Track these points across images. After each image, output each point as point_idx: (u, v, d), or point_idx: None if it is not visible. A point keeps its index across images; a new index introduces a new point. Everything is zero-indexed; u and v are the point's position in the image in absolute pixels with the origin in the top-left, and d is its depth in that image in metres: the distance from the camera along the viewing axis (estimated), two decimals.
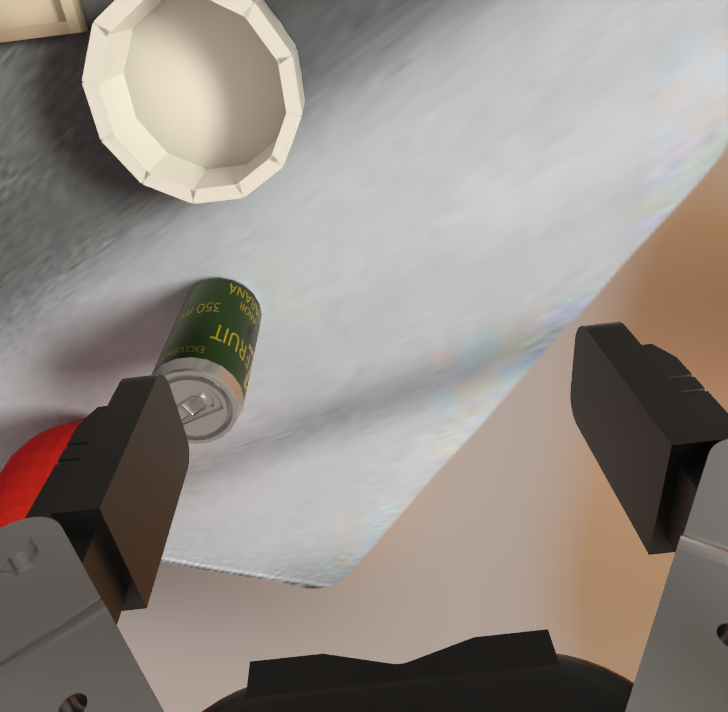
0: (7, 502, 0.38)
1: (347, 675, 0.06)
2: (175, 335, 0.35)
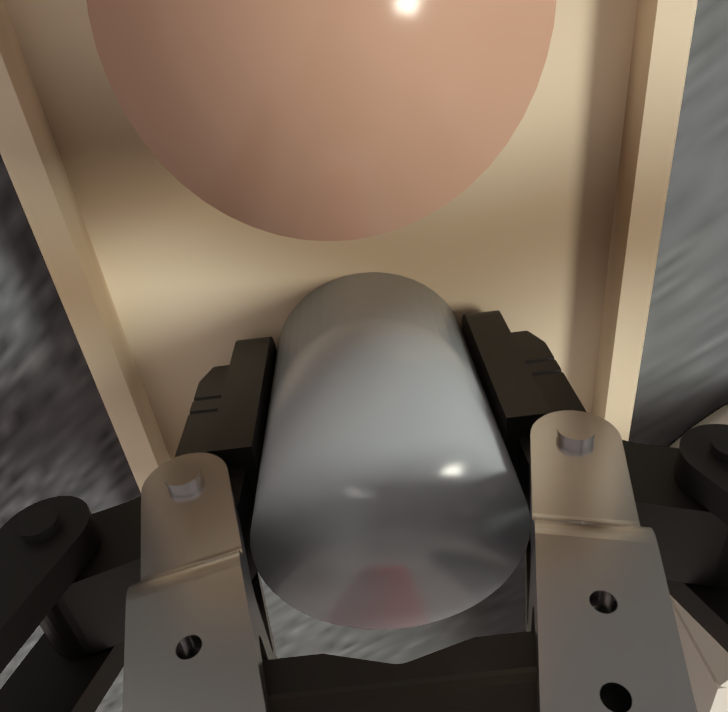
0: None
1: (347, 675, 0.06)
2: None
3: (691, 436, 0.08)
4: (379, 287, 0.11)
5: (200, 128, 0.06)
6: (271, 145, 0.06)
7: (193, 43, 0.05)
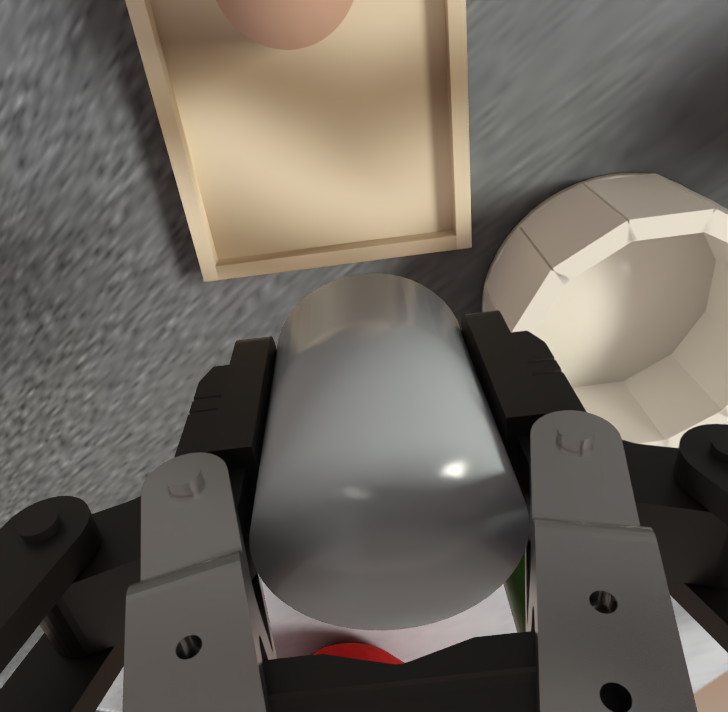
0: None
1: (347, 675, 0.06)
2: None
3: (691, 436, 0.08)
4: (378, 288, 0.11)
5: (240, 3, 0.16)
6: (265, 10, 0.16)
7: None
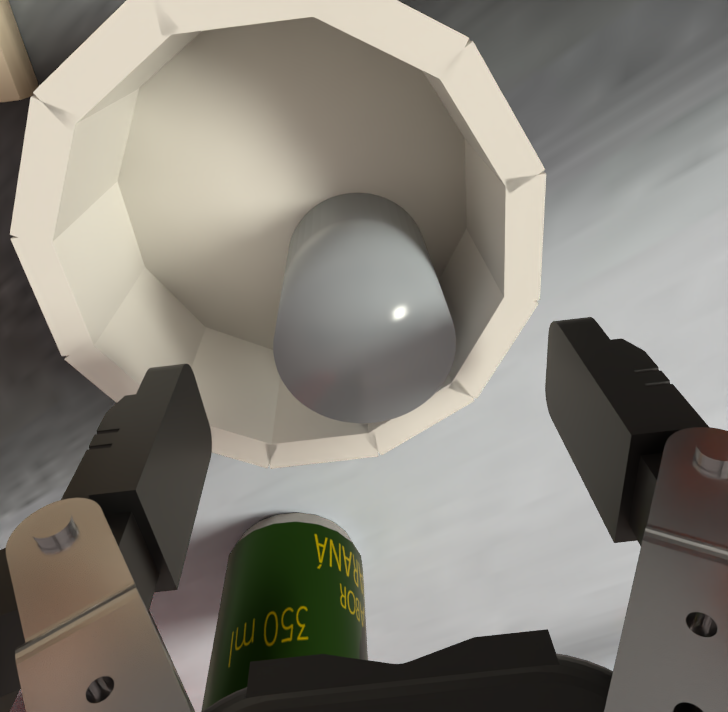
0: None
1: (347, 675, 0.06)
2: None
3: None
4: (361, 200, 0.16)
5: None
6: None
7: None
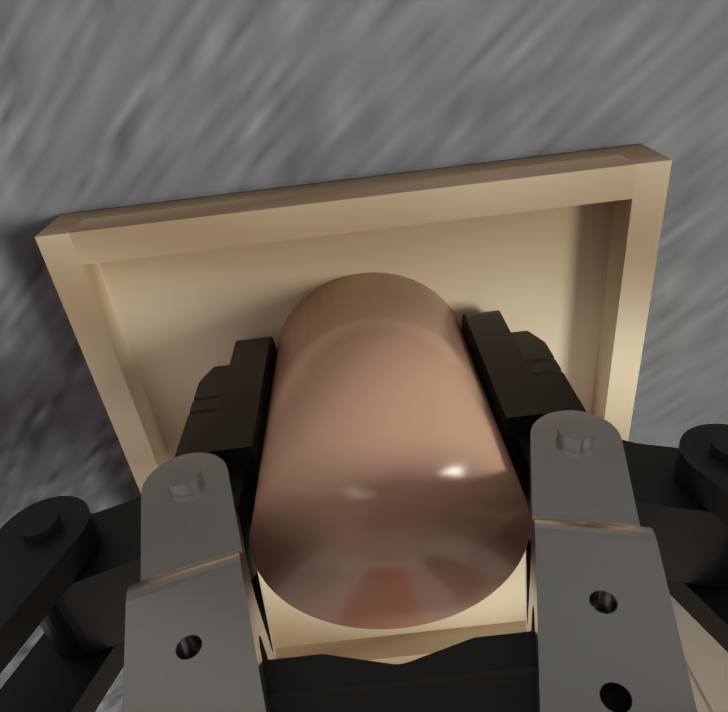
0: None
1: (347, 675, 0.06)
2: None
3: (691, 436, 0.08)
4: None
5: (311, 586, 0.09)
6: (353, 591, 0.09)
7: (311, 554, 0.09)
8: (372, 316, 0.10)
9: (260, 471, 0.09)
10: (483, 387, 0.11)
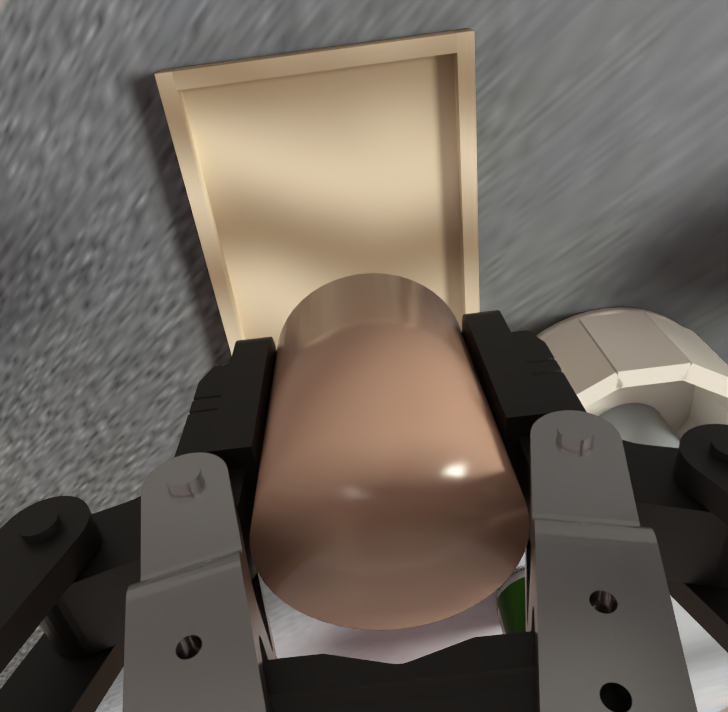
0: None
1: (347, 675, 0.06)
2: None
3: (691, 436, 0.08)
4: (640, 411, 0.29)
5: (310, 587, 0.09)
6: (352, 592, 0.09)
7: (310, 555, 0.09)
8: (372, 317, 0.10)
9: (259, 472, 0.09)
10: (482, 388, 0.11)
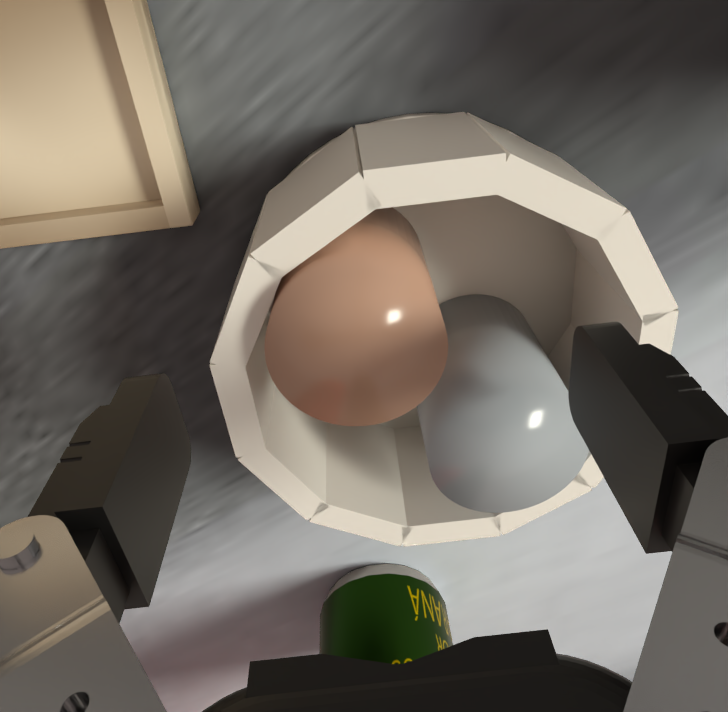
0: None
1: (347, 675, 0.06)
2: None
3: None
4: (482, 304, 0.18)
5: (302, 385, 0.14)
6: (331, 392, 0.14)
7: (304, 359, 0.13)
8: None
9: (272, 307, 0.14)
10: None
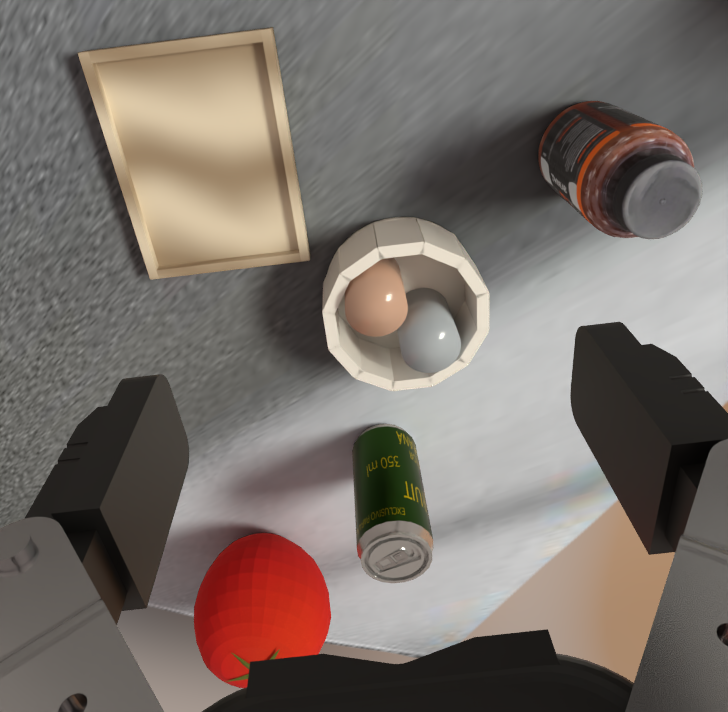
0: (223, 619, 0.47)
1: (347, 675, 0.06)
2: (372, 492, 0.44)
3: None
4: (425, 291, 0.43)
5: (356, 320, 0.39)
6: (366, 323, 0.39)
7: (358, 310, 0.39)
8: None
9: (347, 292, 0.39)
10: (402, 282, 0.41)
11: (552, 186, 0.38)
